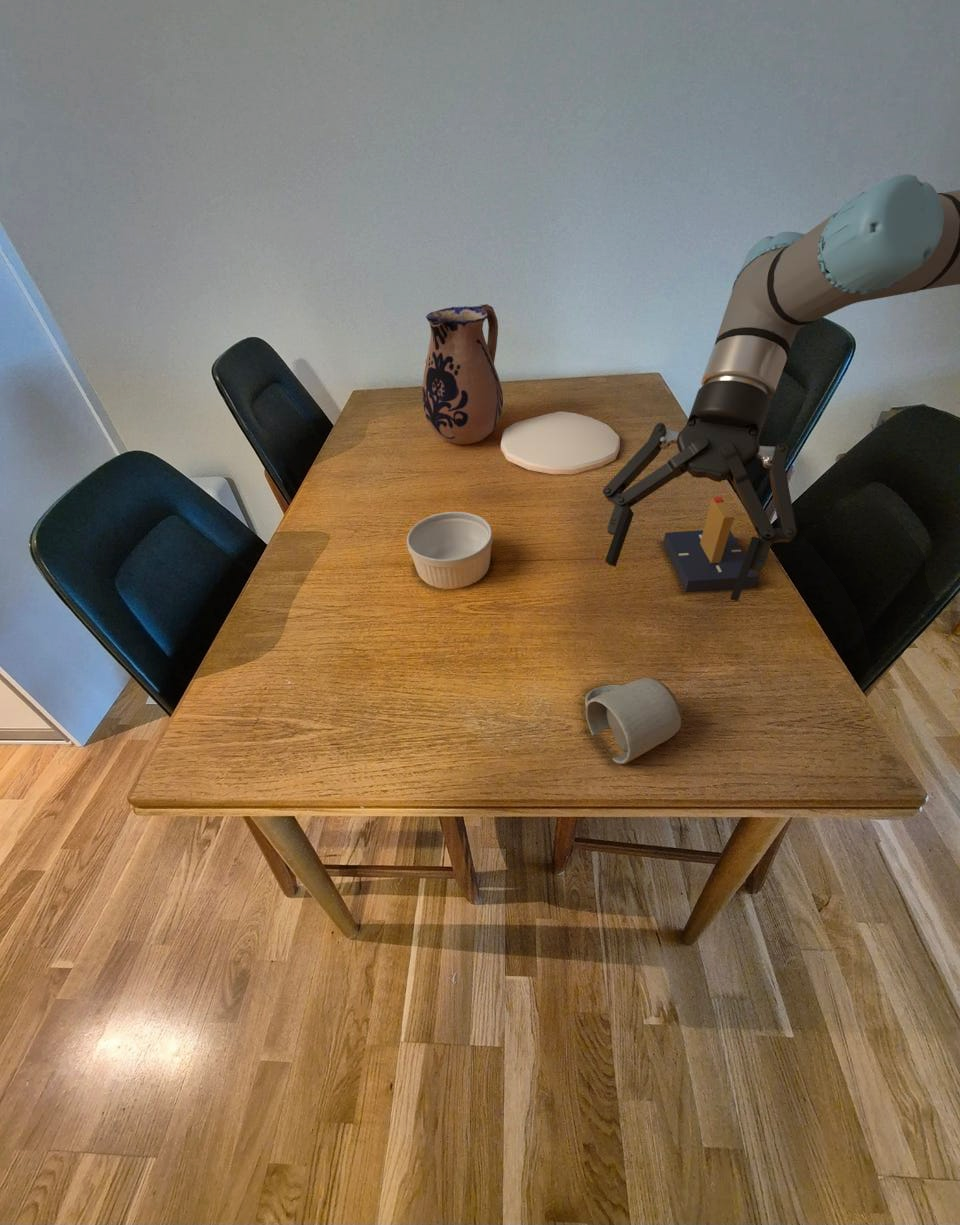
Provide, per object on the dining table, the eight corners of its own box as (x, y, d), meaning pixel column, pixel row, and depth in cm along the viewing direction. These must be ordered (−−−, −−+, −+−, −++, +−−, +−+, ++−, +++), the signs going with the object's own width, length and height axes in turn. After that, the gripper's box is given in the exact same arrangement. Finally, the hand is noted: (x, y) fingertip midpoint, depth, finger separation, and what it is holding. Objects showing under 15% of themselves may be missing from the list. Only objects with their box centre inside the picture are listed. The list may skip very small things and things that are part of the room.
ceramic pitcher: (413, 446, 120) (392, 324, 102) (461, 409, 132) (450, 295, 115) (480, 460, 113) (471, 331, 95) (524, 420, 125) (522, 300, 108)
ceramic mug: (681, 744, 60) (694, 702, 55) (623, 778, 58) (632, 737, 53) (619, 683, 67) (626, 640, 62) (566, 710, 65) (568, 668, 60)
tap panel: (753, 592, 78) (759, 575, 75) (684, 596, 78) (688, 580, 76) (724, 543, 86) (729, 527, 84) (662, 547, 87) (665, 531, 84)
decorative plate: (481, 422, 116) (578, 397, 123) (482, 440, 119) (577, 414, 126) (535, 470, 99) (646, 438, 106) (535, 490, 102) (643, 457, 109)
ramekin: (456, 535, 93) (452, 501, 88) (511, 566, 86) (510, 531, 81) (397, 572, 87) (389, 537, 82) (451, 609, 79) (446, 572, 75)
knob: (720, 562, 78) (734, 515, 72) (710, 563, 78) (724, 515, 73) (708, 542, 82) (721, 495, 76) (699, 543, 82) (712, 496, 76)
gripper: (859, 426, 56) (789, 618, 57) (628, 393, 66) (572, 556, 67) (879, 394, 49) (798, 613, 50) (617, 363, 59) (556, 545, 60)
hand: (669, 581), depth 59 cm, fingers open, 13 cm apart
